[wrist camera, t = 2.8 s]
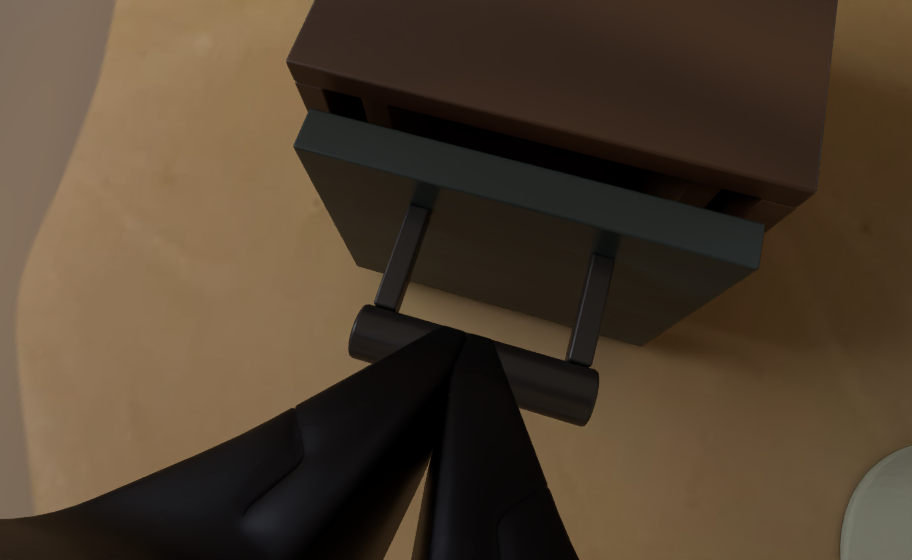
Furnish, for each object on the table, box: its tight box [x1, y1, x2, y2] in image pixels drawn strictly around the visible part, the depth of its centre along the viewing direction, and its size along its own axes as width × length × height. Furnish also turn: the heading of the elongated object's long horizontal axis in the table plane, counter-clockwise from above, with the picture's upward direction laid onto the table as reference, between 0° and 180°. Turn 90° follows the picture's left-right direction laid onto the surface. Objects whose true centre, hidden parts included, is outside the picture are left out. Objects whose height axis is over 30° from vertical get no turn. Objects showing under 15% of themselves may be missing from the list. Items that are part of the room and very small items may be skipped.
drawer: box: [294, 98, 765, 426], centre depth 19 cm, size 18×11×9 cm, turn 163°
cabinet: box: [286, 0, 838, 233], centre depth 20 cm, size 15×13×11 cm
